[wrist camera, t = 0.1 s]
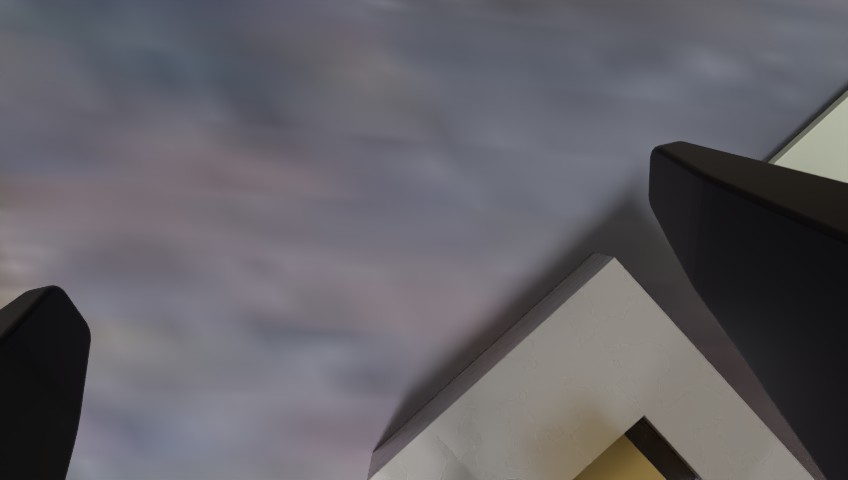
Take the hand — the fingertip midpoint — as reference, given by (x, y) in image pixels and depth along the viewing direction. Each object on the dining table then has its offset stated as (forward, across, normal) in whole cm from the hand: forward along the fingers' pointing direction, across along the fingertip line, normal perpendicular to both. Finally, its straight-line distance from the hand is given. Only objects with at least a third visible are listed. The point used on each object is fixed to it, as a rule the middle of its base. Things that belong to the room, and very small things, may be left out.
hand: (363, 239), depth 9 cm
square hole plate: (+6, -6, +19) cm, 21 cm away
